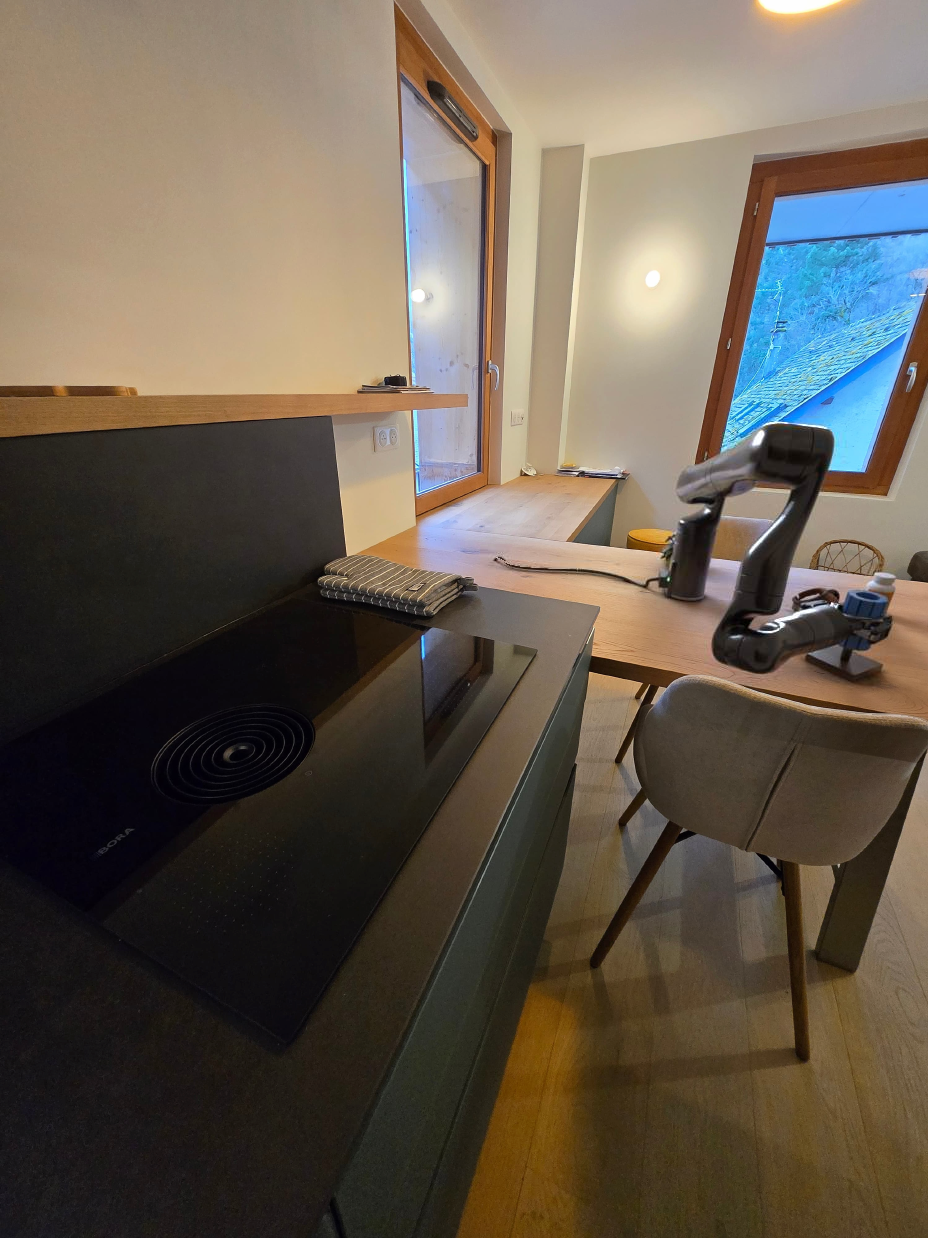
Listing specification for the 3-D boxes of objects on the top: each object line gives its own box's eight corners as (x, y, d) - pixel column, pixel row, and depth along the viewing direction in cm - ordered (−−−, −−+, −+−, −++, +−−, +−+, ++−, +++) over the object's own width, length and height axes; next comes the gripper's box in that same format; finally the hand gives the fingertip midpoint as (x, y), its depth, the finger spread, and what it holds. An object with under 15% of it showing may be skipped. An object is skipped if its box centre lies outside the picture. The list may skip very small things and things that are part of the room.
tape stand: (851, 681, 92) (868, 637, 88) (804, 660, 100) (818, 617, 96) (880, 671, 95) (898, 627, 91) (833, 650, 103) (847, 609, 99)
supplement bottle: (890, 618, 116) (905, 579, 112) (864, 616, 117) (878, 578, 113) (877, 609, 121) (892, 571, 117) (853, 607, 122) (866, 570, 118)
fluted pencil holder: (837, 648, 93) (855, 600, 89) (827, 634, 99) (843, 588, 94) (875, 653, 92) (894, 604, 87) (862, 638, 97) (880, 591, 93)
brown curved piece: (833, 633, 111) (820, 601, 110) (791, 634, 119) (778, 604, 118) (859, 607, 115) (847, 576, 114) (816, 610, 124) (804, 582, 123)
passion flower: (664, 577, 158) (672, 542, 159) (700, 578, 150) (708, 542, 152) (651, 565, 149) (660, 528, 151) (688, 566, 142) (697, 527, 143)
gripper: (861, 627, 80) (920, 609, 86) (778, 596, 92) (835, 582, 98) (846, 667, 83) (904, 646, 89) (768, 632, 95) (824, 616, 101)
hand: (868, 613), depth 94 cm, fingers closed on fluted pencil holder, 6 cm apart
